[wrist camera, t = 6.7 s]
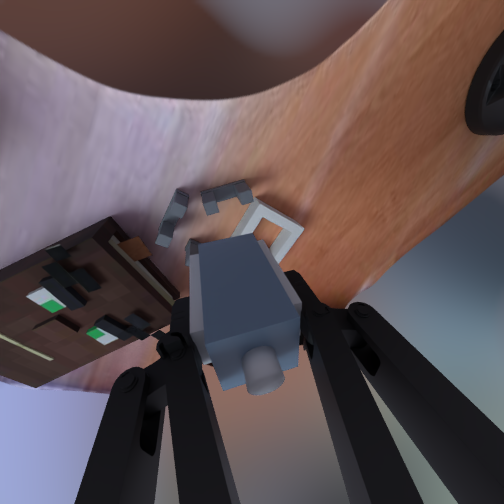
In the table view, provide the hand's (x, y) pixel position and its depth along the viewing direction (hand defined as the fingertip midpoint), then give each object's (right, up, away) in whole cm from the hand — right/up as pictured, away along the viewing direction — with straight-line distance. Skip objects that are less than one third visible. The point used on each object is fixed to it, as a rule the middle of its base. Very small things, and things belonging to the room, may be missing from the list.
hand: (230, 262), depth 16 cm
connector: (0, 0, 0) cm, 0 cm away
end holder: (+3, +4, +19) cm, 20 cm away
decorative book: (-26, -6, +18) cm, 32 cm away
